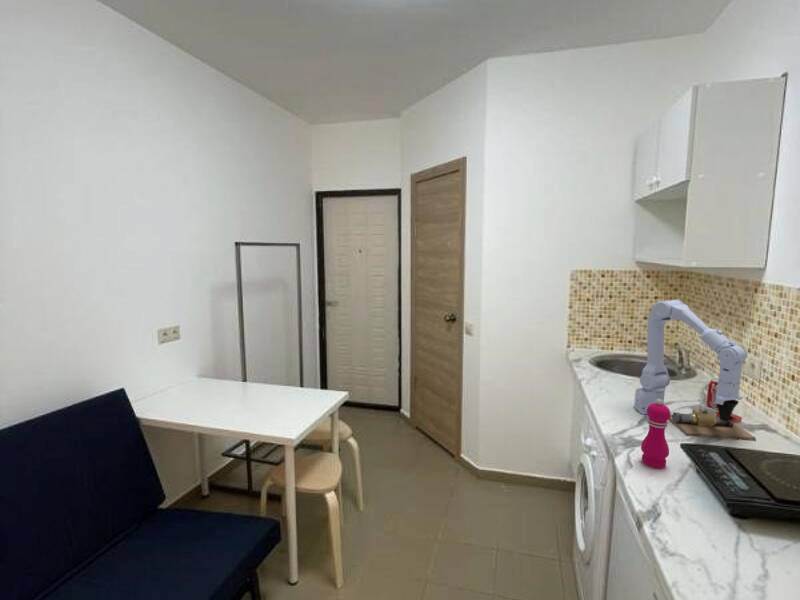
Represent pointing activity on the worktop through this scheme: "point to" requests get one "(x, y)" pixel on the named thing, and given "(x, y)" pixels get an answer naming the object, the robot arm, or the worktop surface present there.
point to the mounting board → (714, 431)
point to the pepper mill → (656, 436)
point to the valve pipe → (700, 419)
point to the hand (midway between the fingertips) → (724, 420)
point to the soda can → (712, 394)
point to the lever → (706, 409)
